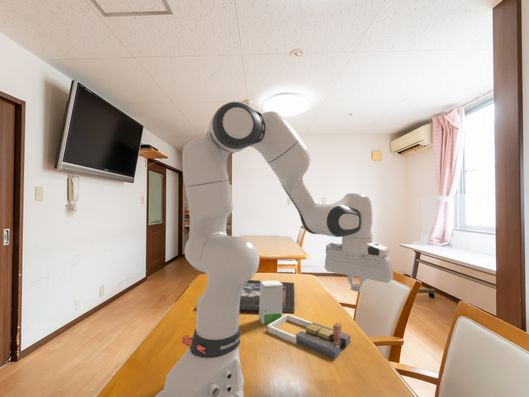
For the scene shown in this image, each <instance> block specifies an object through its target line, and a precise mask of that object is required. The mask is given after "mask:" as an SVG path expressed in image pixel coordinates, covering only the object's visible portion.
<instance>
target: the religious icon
mask: <svg viewBox="0 0 529 397" xmlns="http://www.w3.org/2000/svg"><path fill="white" fill-rule="evenodd" d="M260 281H261V280H258V279H257V280H255V279H250V280H249V281H248V282H247V283H246V284H245V286H244V288H243V291H242V294H241V298H240V306H239V314H240V313H241V314H242V313H244V314H245V313H247V314H259V302H260ZM279 282H280V283H282V284H283V301H282V314H291V315H292V314H295V282H284V281H279ZM195 308H196V309H197V306H196V307H195Z"/></svg>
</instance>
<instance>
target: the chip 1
mask: <svg viewBox="0 0 529 397" xmlns="http://www.w3.org/2000/svg"><path fill="white" fill-rule="evenodd" d="M312 323H313V322H312ZM312 323H311V324H310V325H308V326H307V327H305V333H308V334H311V335H313V336H316V337H318V331H319V330H320V329H322V327H321V326H318V325H315V324H312Z"/></svg>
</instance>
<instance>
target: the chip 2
mask: <svg viewBox="0 0 529 397" xmlns="http://www.w3.org/2000/svg"><path fill="white" fill-rule="evenodd" d="M318 338H321V339H323V340H326V341H329V342H331V343H333V331H332V330H329V329H326V328H322V329H320V330H319V331H318Z"/></svg>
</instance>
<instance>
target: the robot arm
mask: <svg viewBox="0 0 529 397" xmlns="http://www.w3.org/2000/svg"><path fill="white" fill-rule="evenodd" d="M248 147H251V148H253V149H255V150H256V151H258V152H259V153H260V154H261V156H262V157H263V159H264V160H265V162H266V163H267V164H268V166H270V169H271V170H272V171H273V172H274V174H275V176H276V177H277V179H278V180H279V182H280V184H281V186H282V188H283V189H284V192H286V194H287V196H288V198H289V199H290V201H291V202H292V204H293V205H294V206H295V208H296V210H297V212H298V213H299V214H298V215H299V217H300V221H301V224H302V226H303V228H304V230H306V232H308V233H309V234H311V235H312V234H313V235H323V236H329V237H332V238H333V237H334V238H341V243H333V242H331V243H328V244H327V245H326V246H325V259H324V260H325V261H324V268H325V271H326V272H330V273H333V274H340V275H346V276H347V281H348V282H349V285H350V290H351V291H354V292H358V293H362V292H363V285H364V284H365V283H366V281H367V280H371V281H376V282H380V283H384V284H385V283H386V284H387V283H390V282H392V280H393V279H394V268H393V263H392V259H391V257H390V256H389V255H388V254H389V252H390V249H389V247H388V246H386V245H383V244H381V243H379V242H376V241H374V240H373V235H372V225H373V207H372V206H373V205H372V202H371V200H370V197H368V196H367V195H364V194H361V193H347V194H345V195H344V197H343V198H341V199H339V200H338V201H336V202H334V203H331V204H324V203H320V202H317V201H316V200H315V199H314V198H313V196H312V195H311V193H310V191H309V190H308V188H307V186H306V185H305V183H304V179H303V178H304V175H305V174H306V173H307V172H308V169H309V167H310V163H311V155H310V152H309V150H308V147H307V146H306V144H305V143H304V142H303V141H302V138H300V136H299V134H298V133H297V132H296V131H295V129H294V128H293V127H292V126H291V125H290V124H289V123H288V121H286V119H285V118H284V117H282V115H280V114H279V113H278V112H276V111H272V110H270V111H265V112H263V113H261V112H259V111H257V110H255V109H253V108H251V106H249V105H247V104H245V103H244V102H243V103H242V102H239V101H231V102H228V103H226V104H225V103H224V104H223V105H221V106H220V107H219V108H218V109H217V110H216V111H215V113H214V115H213V116H212V118H211V120H210V123H209V126H208V130H207V133H206V135H205V136H204V137H201V138H195V139H192V140H191V141H189V142H187V143H186V144H185V145H184V146H183V148H182V156H181V157H182V159H181V160H182V177H183V183H184V189H185V194H186V200H187V208H188V213H189V232H188V240H187V241H186V242H185V246H184V249H183V250H184V257H185V258H186V261H187V262H188V263H189V264H190V265H191V267H193V268H194V269H195V270H197V271H200V272H202V273H205V274H206V276H207V280H206V281H207V282H206V285H205V289H204V291H203V293H202V294H200V296H199V297H198V299H197V301H196V307H197V308H196V316H195V317H196V318H195V319H196V322H195V324H196V325H195V329H194V332H193V333H192V334H193V335H192V337H190V336H189V335H187V334H186V335H184V336H182V338H181V344H183V345H185V346H186V347H189V348H188V349H187V350H186V351H185V353H184V354H183V355H182V356H181V357H180V358H179V360H178V361H177V362H176V364H175V365H174V366H173V367H171V369H170V371H168V373H167V375H166V378H165V382H164V385H163V389H162V390H160V391H159V392H158V393H157V394H155V395H154V397H245V395H244V384H245V380H244V375H243V371H242V366H241V365H242V364H241V357H240V356H241V355H240V347H239V346H240V344H241V336H242V335H241V326H240V324H239V323H240V312H239V306H240V298H241V294H242V291H243V288H244V286H245V284H246V283H247V282H248V281H249V280H252V278H253V277H255V275H256V273H257V272H258V269H259V266H260V253H259V250H258V249H257V247H256V245H254V244H253V243H251V242H250V241H248V240H246V239H243V238H242V237H239V236H233V235H228V233H227V222H228V218H229V216H230V215H231V214H232V212H233V209H234V207H233V206H234V204H233V201H232V192H231V187H230V180H229V174H228V170H227V164H228V163H227V160H228V159H229V158H228V157H229V156H230V155H233V154H235V153H238V152H241V151H243V150H245V149H246V148H248ZM355 278H358V281H359V282H360V283H359V284H357V283H356V282H355V281H354V279H355Z"/></svg>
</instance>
